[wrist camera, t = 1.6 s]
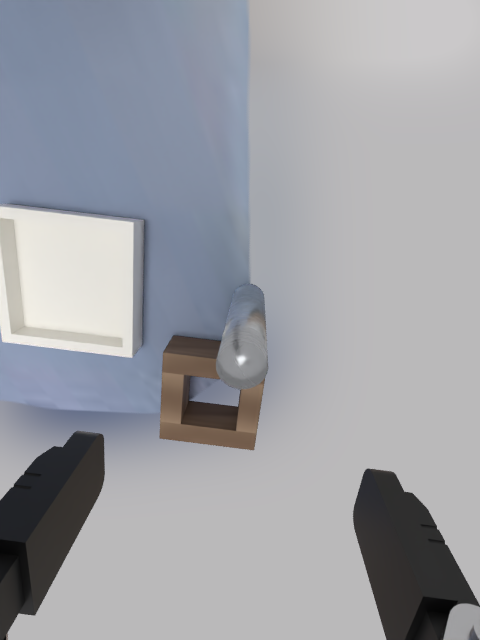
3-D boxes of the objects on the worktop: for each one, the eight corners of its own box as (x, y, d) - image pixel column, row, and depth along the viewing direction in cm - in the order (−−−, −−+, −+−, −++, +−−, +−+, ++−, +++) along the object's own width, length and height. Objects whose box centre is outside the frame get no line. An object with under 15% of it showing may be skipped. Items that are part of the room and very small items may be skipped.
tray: (8, 203, 27) (-16, 204, 25) (144, 219, 27) (133, 222, 25) (22, 330, 31) (2, 341, 28) (142, 345, 31) (132, 357, 28)
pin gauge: (234, 281, 28) (218, 339, 17) (266, 285, 28) (271, 345, 17) (231, 312, 29) (213, 386, 18) (262, 316, 29) (264, 392, 18)
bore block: (173, 335, 30) (163, 352, 27) (266, 346, 30) (267, 365, 27) (169, 414, 33) (159, 438, 30) (254, 424, 33) (254, 450, 29)
